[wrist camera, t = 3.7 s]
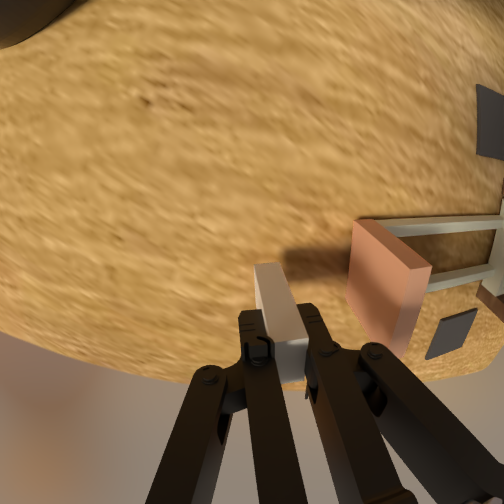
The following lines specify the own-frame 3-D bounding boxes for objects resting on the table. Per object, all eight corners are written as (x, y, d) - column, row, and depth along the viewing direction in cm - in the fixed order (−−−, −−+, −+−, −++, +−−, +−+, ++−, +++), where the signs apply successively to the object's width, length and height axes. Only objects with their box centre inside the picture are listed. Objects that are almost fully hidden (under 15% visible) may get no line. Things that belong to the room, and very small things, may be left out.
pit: (476, 84, 14) (479, 84, 14) (511, 101, 14) (514, 101, 14) (476, 154, 16) (479, 155, 16) (510, 161, 17) (513, 162, 16)
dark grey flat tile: (440, 319, 23) (442, 321, 23) (475, 307, 24) (477, 309, 23) (424, 358, 26) (426, 360, 25) (459, 345, 26) (461, 347, 26)
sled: (355, 196, 17) (416, 238, 11) (538, 201, 18) (579, 223, 12) (342, 314, 21) (377, 379, 15) (520, 272, 22) (554, 300, 16)
